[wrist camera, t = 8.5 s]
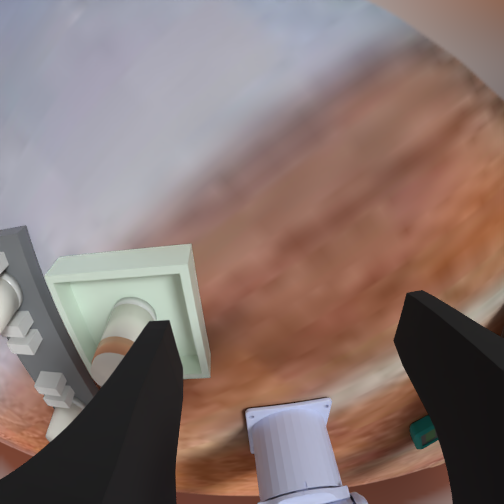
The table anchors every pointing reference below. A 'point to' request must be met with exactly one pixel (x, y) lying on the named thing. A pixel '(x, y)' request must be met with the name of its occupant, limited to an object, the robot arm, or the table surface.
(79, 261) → the tray
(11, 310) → the white glossy rounded part
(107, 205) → the table surface
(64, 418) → the cylinder
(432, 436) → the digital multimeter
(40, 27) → the table surface
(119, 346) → the cylinder
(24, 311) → the fuse board
